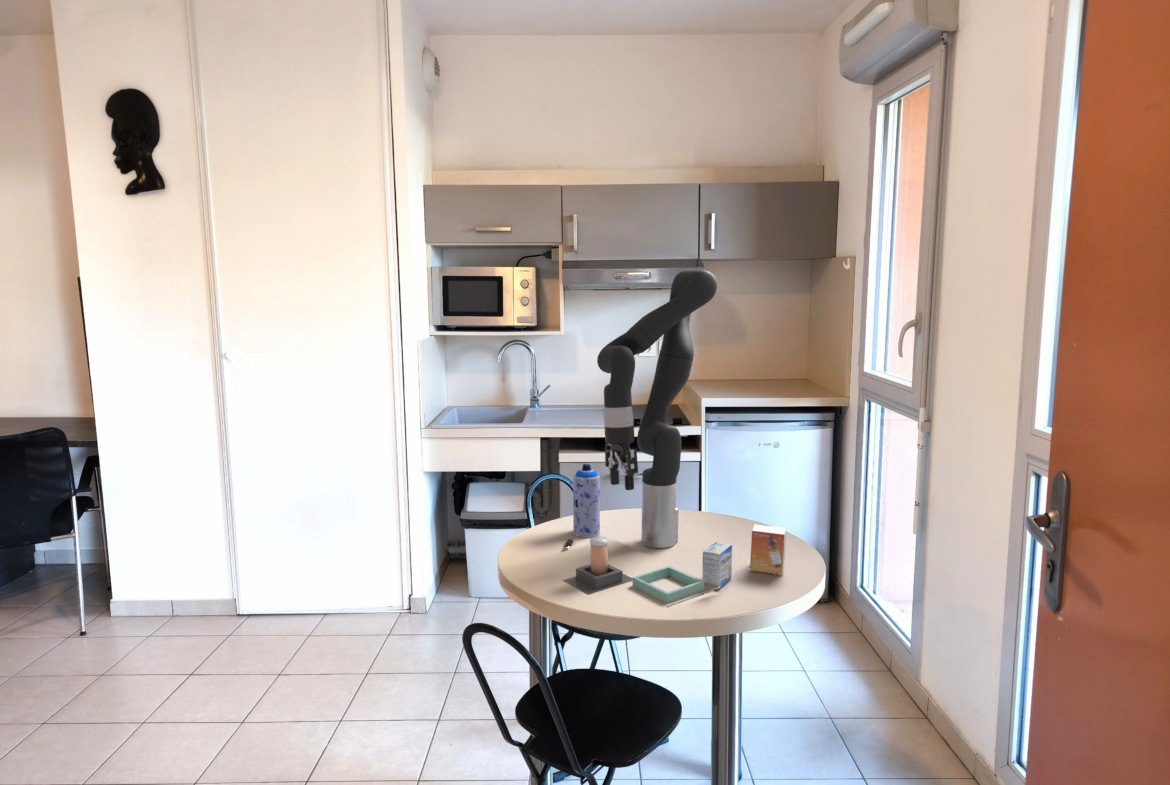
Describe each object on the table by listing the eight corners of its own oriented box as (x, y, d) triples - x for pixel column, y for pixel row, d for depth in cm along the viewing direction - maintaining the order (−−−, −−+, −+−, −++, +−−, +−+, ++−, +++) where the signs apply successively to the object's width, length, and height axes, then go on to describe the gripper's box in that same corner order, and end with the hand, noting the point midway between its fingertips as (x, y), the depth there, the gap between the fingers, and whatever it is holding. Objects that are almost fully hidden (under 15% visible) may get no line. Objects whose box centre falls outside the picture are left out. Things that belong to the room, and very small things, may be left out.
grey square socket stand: (608, 570, 179) (608, 556, 178) (635, 583, 171) (635, 569, 170) (562, 584, 170) (562, 570, 170) (588, 598, 162) (588, 584, 162)
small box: (749, 571, 178) (750, 530, 177) (752, 563, 183) (753, 523, 182) (782, 576, 176) (784, 534, 174) (784, 567, 181) (786, 527, 179)
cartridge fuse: (600, 575, 173) (600, 534, 172) (611, 580, 170) (611, 539, 169) (586, 579, 171) (586, 538, 169) (597, 585, 167) (597, 543, 166)
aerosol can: (570, 529, 208) (569, 462, 205) (596, 527, 210) (596, 460, 207) (576, 538, 201) (576, 468, 198) (603, 536, 203) (603, 467, 200)
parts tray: (668, 577, 174) (669, 565, 174) (704, 594, 165) (704, 581, 165) (632, 589, 167) (632, 577, 167) (666, 607, 158) (667, 594, 158)
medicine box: (719, 590, 167) (720, 554, 166) (701, 586, 169) (702, 551, 168) (731, 579, 174) (732, 544, 172) (714, 575, 176) (715, 540, 175)
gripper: (645, 425, 179) (648, 489, 180) (620, 420, 192) (623, 480, 193) (617, 428, 176) (621, 493, 177) (594, 423, 189) (597, 484, 190)
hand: (622, 487), depth 185 cm, fingers open, 8 cm apart
